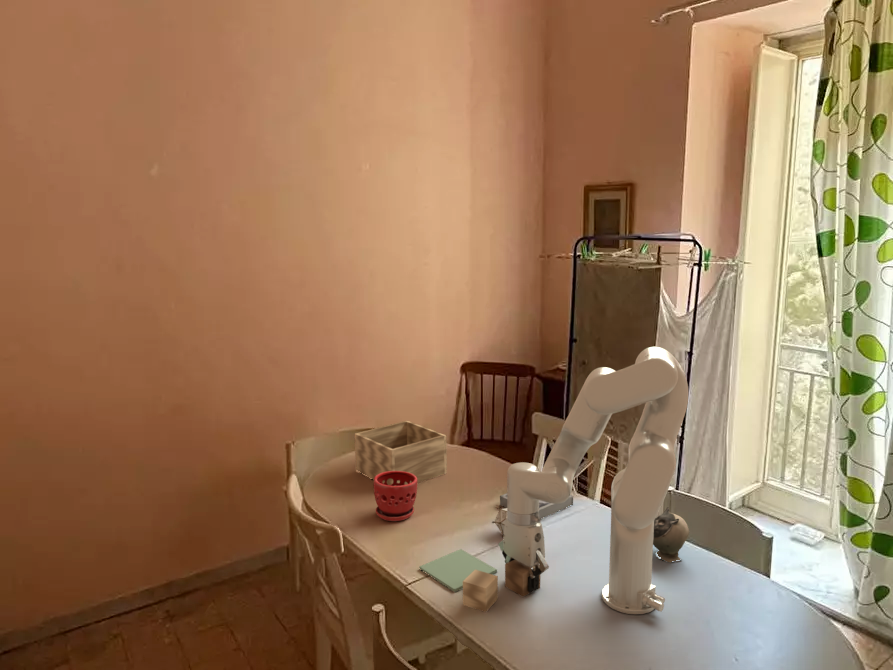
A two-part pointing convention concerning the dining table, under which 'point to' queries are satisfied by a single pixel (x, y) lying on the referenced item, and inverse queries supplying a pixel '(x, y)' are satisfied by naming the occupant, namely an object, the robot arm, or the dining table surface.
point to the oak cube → (480, 590)
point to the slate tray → (545, 509)
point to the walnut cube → (517, 577)
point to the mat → (455, 568)
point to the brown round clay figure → (669, 535)
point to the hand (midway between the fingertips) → (522, 583)
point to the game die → (501, 519)
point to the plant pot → (395, 495)
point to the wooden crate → (401, 451)
